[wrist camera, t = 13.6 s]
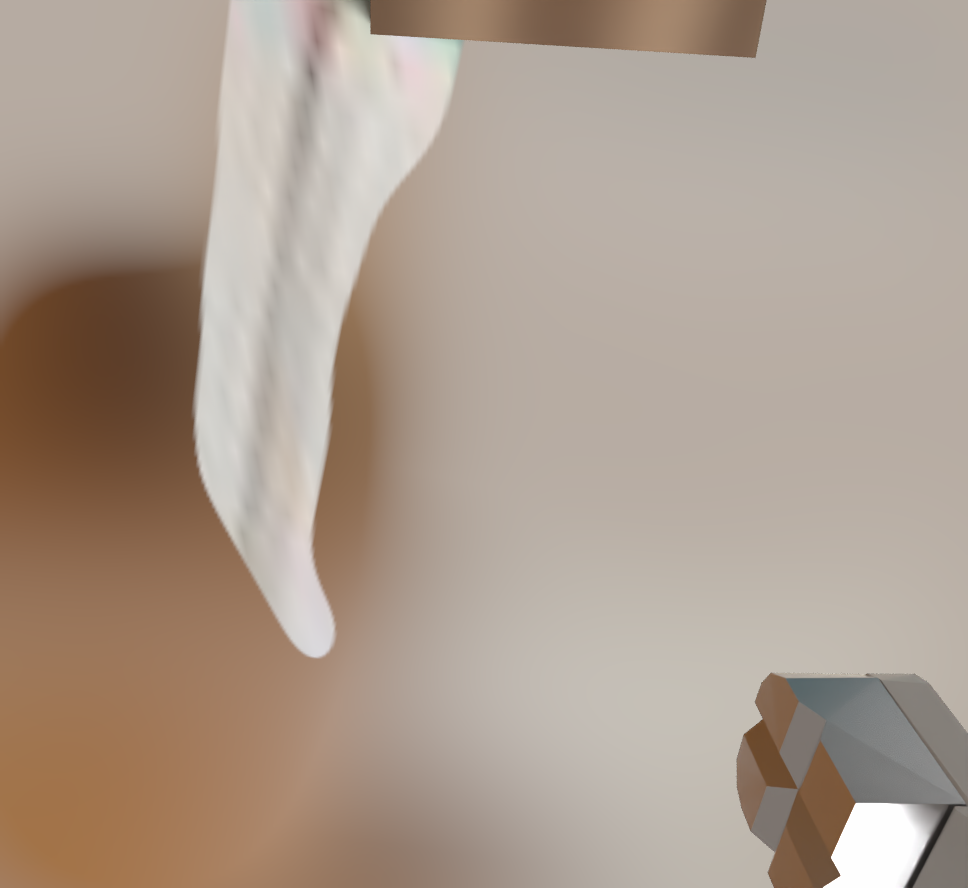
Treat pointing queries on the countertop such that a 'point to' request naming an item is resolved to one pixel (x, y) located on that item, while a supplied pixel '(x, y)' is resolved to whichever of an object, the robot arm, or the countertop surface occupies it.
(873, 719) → the robot arm
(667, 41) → the walnut block
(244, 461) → the countertop surface
